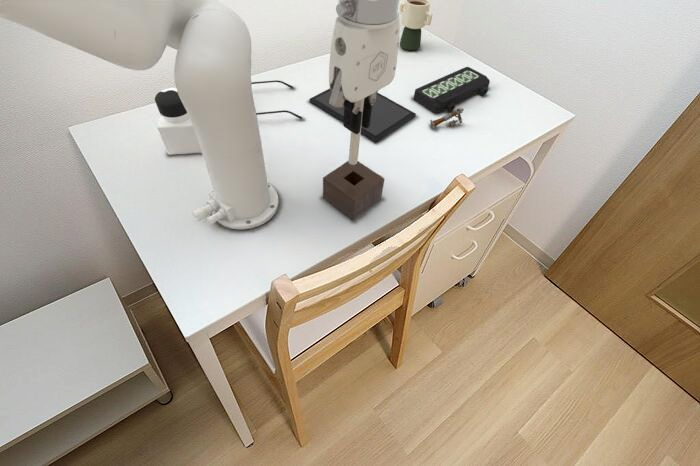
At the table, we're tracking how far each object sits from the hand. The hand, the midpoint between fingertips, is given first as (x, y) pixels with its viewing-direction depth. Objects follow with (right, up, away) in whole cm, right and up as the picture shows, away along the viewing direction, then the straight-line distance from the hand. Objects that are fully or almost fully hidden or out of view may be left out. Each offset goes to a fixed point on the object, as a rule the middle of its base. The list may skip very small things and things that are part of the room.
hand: (356, 126), depth 62 cm
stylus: (-1, -5, +7) cm, 9 cm away
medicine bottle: (-36, +2, +21) cm, 42 cm away
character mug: (+17, +39, +54) cm, 69 cm away
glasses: (-22, +13, +31) cm, 40 cm away
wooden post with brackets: (+22, +9, +30) cm, 38 cm away
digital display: (+26, +19, +39) cm, 51 cm away
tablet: (+2, +13, +32) cm, 35 cm away
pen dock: (-1, -11, +13) cm, 17 cm away
